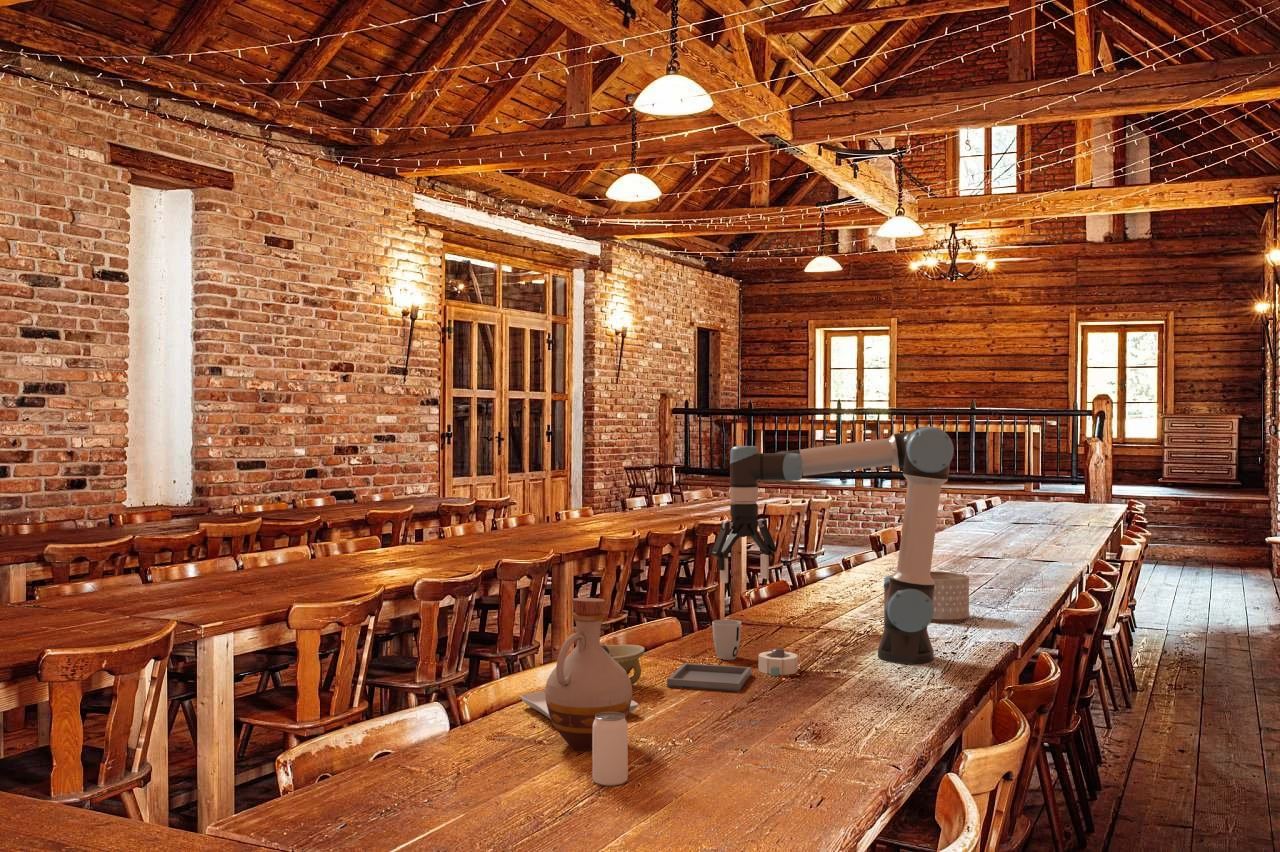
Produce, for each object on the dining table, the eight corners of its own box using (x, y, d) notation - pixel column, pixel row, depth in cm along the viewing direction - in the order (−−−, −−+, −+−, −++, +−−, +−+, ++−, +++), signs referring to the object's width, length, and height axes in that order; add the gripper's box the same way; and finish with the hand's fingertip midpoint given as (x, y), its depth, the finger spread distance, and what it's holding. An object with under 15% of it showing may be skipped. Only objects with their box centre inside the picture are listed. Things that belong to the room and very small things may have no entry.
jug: (595, 766, 206) (595, 610, 206) (521, 751, 216) (521, 602, 216) (648, 740, 223) (648, 595, 223) (578, 727, 233) (578, 588, 232)
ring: (799, 667, 289) (799, 652, 288) (793, 677, 277) (793, 661, 277) (762, 665, 291) (762, 650, 291) (755, 674, 280) (755, 659, 280)
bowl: (656, 681, 273) (656, 644, 273) (625, 698, 257) (625, 658, 256) (594, 675, 280) (594, 638, 280) (561, 691, 264) (561, 652, 264)
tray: (751, 674, 280) (751, 667, 280) (738, 691, 263) (738, 683, 263) (683, 670, 285) (683, 663, 285) (667, 687, 268) (667, 679, 267)
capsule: (785, 669, 286) (785, 648, 286) (783, 672, 283) (783, 651, 283) (773, 668, 287) (773, 648, 287) (771, 671, 284) (771, 650, 284)
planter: (975, 617, 362) (975, 574, 361) (959, 626, 346) (959, 581, 346) (921, 611, 372) (921, 570, 371) (903, 620, 356) (903, 576, 356)
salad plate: (553, 731, 231) (553, 715, 231) (517, 707, 250) (517, 693, 250) (641, 718, 241) (641, 703, 241) (600, 696, 260) (600, 682, 260)
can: (591, 775, 201) (591, 711, 201) (626, 774, 202) (626, 710, 202) (593, 787, 195) (593, 721, 195) (628, 786, 195) (628, 720, 195)
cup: (739, 661, 295) (739, 625, 295) (710, 660, 297) (710, 624, 297) (742, 655, 303) (742, 620, 303) (714, 654, 305) (714, 619, 305)
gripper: (772, 499, 303) (772, 574, 303) (698, 503, 291) (698, 582, 291) (788, 501, 297) (789, 578, 297) (714, 505, 284) (714, 585, 284)
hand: (744, 580), depth 294 cm, fingers open, 13 cm apart
